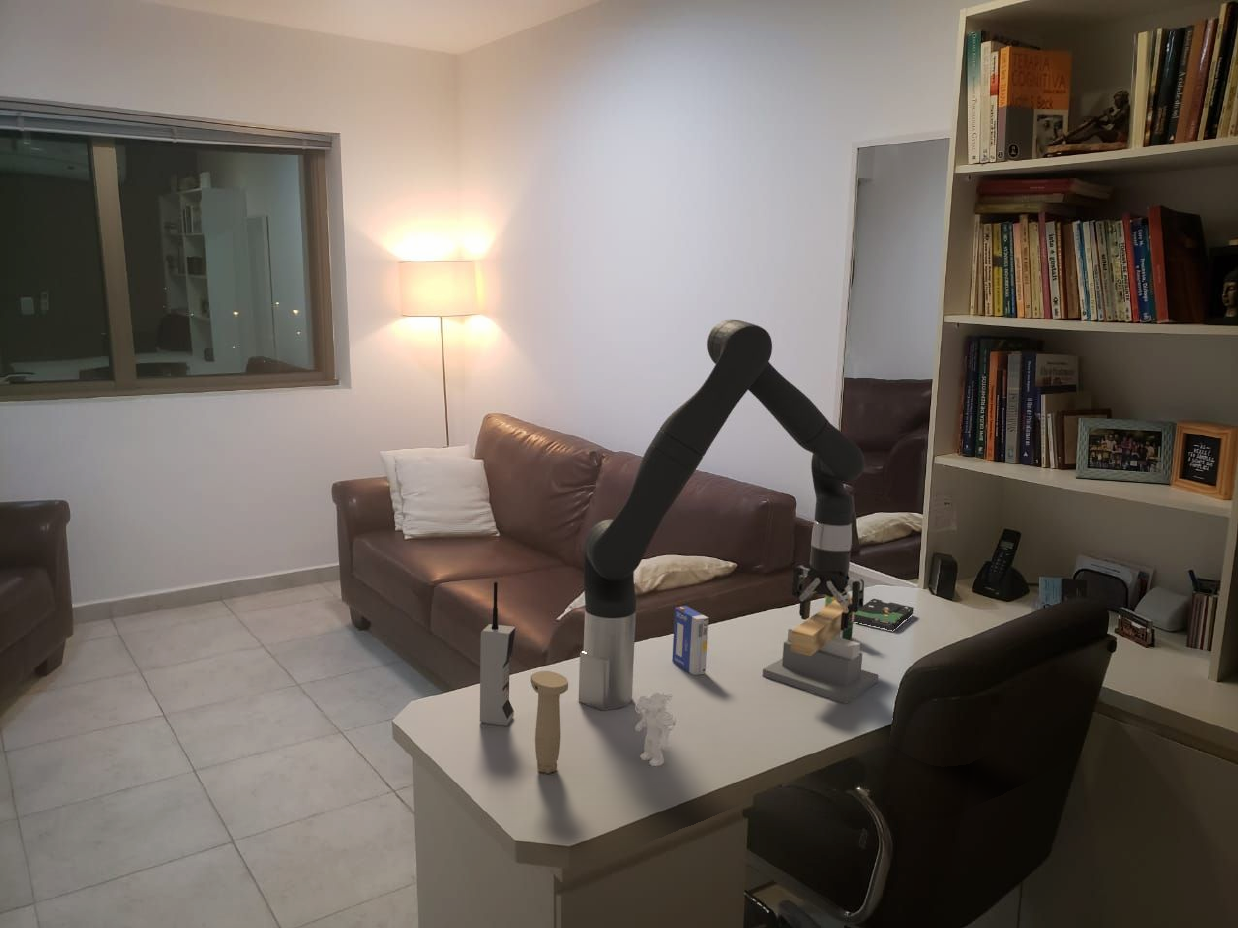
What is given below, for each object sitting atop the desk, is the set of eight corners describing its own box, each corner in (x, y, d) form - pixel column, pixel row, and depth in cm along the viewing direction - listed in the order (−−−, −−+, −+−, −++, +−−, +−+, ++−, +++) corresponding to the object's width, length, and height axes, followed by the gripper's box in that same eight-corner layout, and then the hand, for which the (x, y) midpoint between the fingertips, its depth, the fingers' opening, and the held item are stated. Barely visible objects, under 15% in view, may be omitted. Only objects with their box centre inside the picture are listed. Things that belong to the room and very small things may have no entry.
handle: (547, 756, 148) (550, 668, 146) (571, 773, 144) (574, 682, 141) (522, 765, 145) (524, 675, 143) (545, 782, 141) (548, 689, 138)
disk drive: (871, 608, 229) (850, 624, 217) (872, 597, 229) (851, 612, 217) (913, 618, 224) (893, 634, 211) (914, 607, 223) (894, 622, 211)
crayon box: (852, 640, 205) (856, 590, 203) (841, 641, 204) (845, 591, 202) (833, 629, 212) (837, 580, 210) (822, 630, 211) (826, 581, 209)
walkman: (672, 661, 189) (674, 605, 187) (683, 659, 191) (686, 604, 188) (694, 675, 182) (697, 618, 180) (706, 673, 184) (709, 615, 182)
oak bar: (835, 616, 193) (836, 598, 192) (853, 621, 191) (855, 602, 190) (790, 650, 173) (791, 630, 172) (810, 656, 171) (812, 635, 170)
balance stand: (845, 703, 172) (849, 657, 171) (762, 675, 184) (765, 632, 182) (878, 681, 183) (882, 638, 181) (797, 656, 194) (800, 615, 193)
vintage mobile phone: (507, 726, 158) (509, 586, 154) (479, 723, 159) (481, 583, 155) (514, 717, 162) (516, 580, 157) (486, 713, 163) (488, 577, 158)
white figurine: (678, 768, 146) (682, 697, 144) (658, 774, 144) (662, 702, 142) (646, 744, 154) (649, 676, 151) (626, 750, 151) (629, 681, 149)
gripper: (788, 540, 180) (783, 619, 183) (856, 555, 171) (849, 638, 174) (807, 533, 186) (801, 610, 189) (874, 548, 177) (866, 628, 180)
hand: (824, 624), depth 181 cm, fingers open, 8 cm apart
